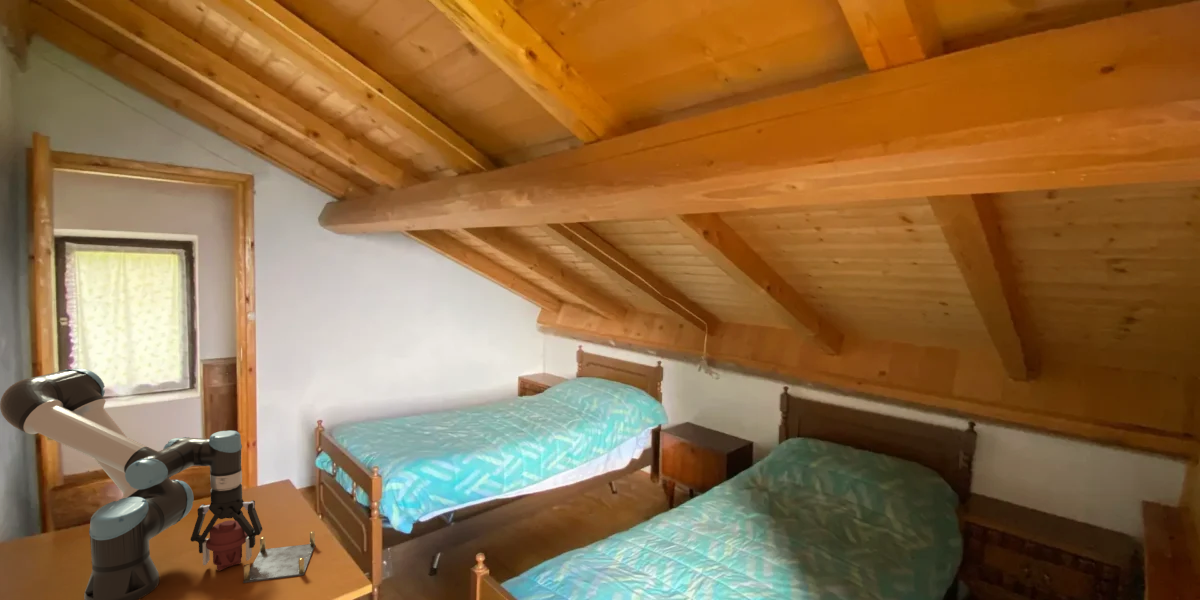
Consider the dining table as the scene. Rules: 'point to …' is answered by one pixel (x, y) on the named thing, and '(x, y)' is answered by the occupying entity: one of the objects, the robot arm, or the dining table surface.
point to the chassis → (279, 561)
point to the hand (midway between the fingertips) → (227, 560)
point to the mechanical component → (226, 543)
